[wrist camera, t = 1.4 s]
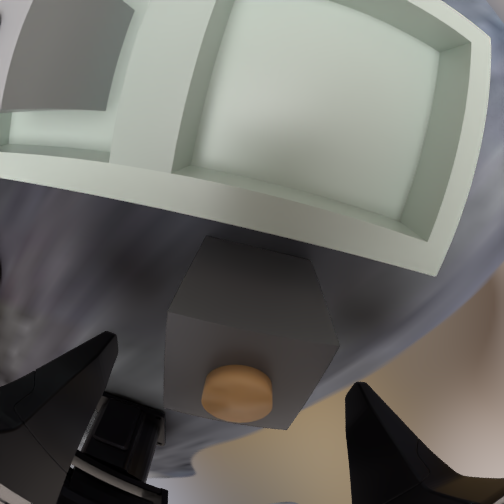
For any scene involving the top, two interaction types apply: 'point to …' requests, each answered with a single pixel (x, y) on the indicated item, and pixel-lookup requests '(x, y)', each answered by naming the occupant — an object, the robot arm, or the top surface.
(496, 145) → the top surface
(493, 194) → the top surface
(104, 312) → the top surface
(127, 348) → the top surface
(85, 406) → the robot arm
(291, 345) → the plug block
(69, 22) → the twin plug block
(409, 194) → the socket strip
